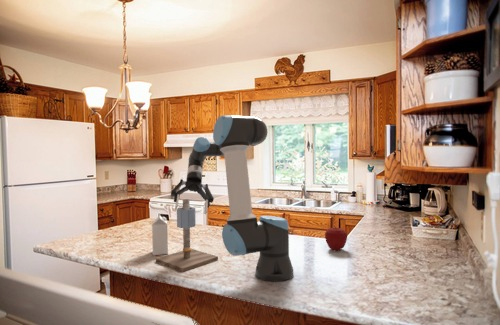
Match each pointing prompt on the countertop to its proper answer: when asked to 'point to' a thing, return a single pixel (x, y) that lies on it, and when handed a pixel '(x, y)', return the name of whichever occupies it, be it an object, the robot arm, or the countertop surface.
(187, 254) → the post stand
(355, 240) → the countertop surface
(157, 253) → the milk carton
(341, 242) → the apple
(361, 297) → the countertop surface
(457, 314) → the countertop surface
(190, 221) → the sleeve
